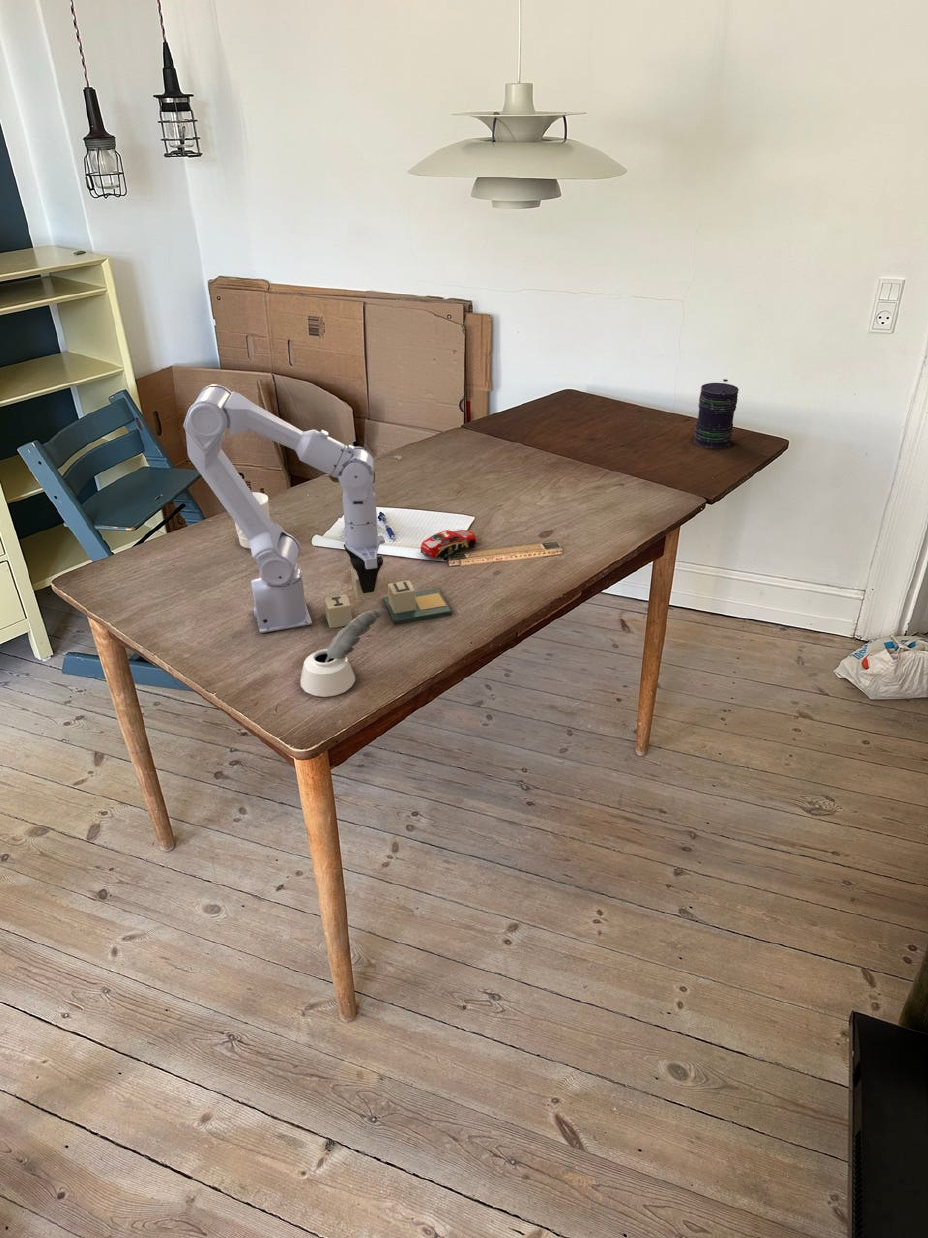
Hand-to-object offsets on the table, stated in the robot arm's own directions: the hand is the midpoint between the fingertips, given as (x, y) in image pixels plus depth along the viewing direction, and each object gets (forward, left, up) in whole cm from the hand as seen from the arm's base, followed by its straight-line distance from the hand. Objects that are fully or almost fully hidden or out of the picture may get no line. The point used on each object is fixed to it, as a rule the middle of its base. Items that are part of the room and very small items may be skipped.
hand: (365, 585), depth 162 cm
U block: (+7, 0, -6) cm, 9 cm away
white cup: (-16, +38, -7) cm, 42 cm away
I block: (-5, 0, -6) cm, 9 cm away
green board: (+10, 0, -6) cm, 12 cm away
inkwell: (-7, -16, -7) cm, 19 cm away
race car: (+23, +21, -7) cm, 32 cm away
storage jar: (+110, +59, -7) cm, 125 cm away
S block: (0, 0, -1) cm, 1 cm away
